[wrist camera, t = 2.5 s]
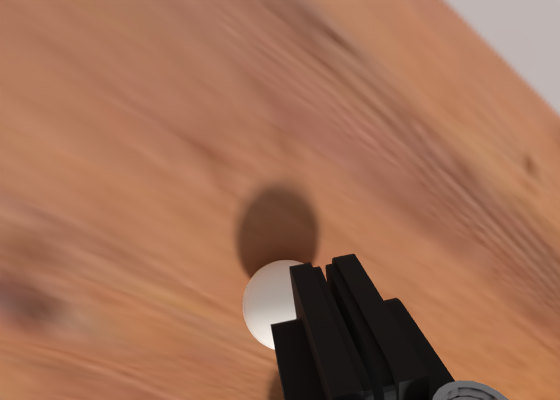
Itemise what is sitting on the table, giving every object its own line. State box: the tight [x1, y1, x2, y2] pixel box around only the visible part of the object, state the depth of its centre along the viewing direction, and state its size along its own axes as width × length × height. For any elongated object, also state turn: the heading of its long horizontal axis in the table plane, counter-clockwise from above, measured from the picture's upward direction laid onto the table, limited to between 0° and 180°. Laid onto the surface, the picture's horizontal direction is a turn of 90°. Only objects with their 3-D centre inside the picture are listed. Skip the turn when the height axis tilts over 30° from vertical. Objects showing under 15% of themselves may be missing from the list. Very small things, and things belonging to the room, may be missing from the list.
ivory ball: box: [242, 260, 304, 350], centre depth 25 cm, size 6×6×6 cm
